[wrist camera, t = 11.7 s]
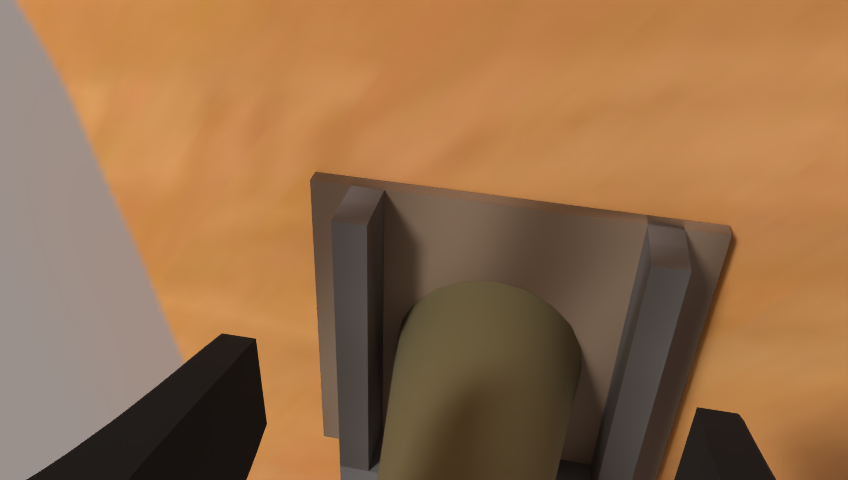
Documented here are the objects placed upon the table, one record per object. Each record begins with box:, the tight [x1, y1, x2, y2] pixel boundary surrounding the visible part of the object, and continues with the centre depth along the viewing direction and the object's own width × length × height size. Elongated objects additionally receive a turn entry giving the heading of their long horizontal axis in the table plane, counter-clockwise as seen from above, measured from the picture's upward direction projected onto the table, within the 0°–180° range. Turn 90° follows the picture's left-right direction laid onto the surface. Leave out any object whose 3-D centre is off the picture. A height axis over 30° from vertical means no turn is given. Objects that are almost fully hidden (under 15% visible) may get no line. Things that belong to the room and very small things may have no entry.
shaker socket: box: [310, 172, 732, 480], centre depth 24 cm, size 12×11×2 cm
